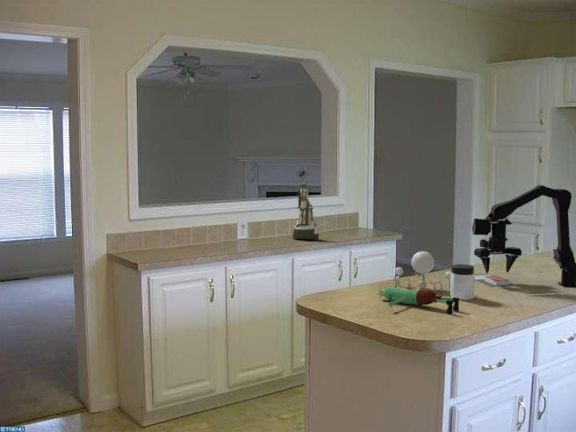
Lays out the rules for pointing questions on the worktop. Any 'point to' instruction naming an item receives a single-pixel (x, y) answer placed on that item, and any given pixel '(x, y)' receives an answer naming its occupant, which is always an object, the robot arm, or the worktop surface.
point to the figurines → (422, 269)
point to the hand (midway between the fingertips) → (497, 272)
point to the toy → (417, 297)
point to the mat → (481, 279)
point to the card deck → (496, 280)
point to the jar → (462, 282)
